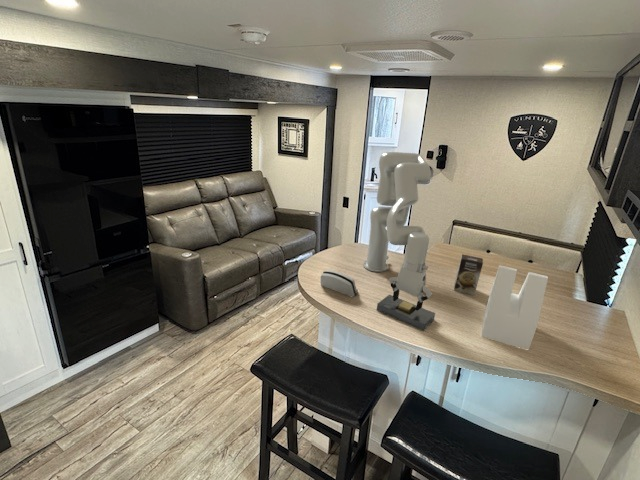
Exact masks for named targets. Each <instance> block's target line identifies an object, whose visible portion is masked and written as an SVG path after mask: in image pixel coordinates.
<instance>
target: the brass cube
mask: <svg viewBox="0 0 640 480" xmlns="http://www.w3.org/2000/svg"><path fill="white" fill-rule="evenodd" d="M405 301H406V300H404V301H403V302H402V303H401V304H400V305H399V306H398V310H400V311H402V312H404V313H407V314H409V315H411V314H412V313H413V307H414V305H415V304H414V303H412V304H410V303H411V302H409V303H407V302H408V301H407V302H405ZM413 304H414V305H413Z"/></svg>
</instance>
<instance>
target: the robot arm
mask: <svg viewBox="0 0 640 480" xmlns="http://www.w3.org/2000/svg"><path fill="white" fill-rule="evenodd" d="M378 167H379V174H380V175H379V182H378V188H377V193H376V194H377V195H376V201H377V204H379V205H380V206H375V207H374V208H372V209H371V211H370V214H369V215H370V218H369V219H370V230H369V240H368V247H367V256H366V260H364V262H363V264H362V266H363V268H364V269H366V270H368V271H370V272H375V273H383V272H384V273H385V272H386V271H388V269H389V265H388V263H387V260H388V259H389V258H390V257H389V255H388V249H389V244H391V245H393V246H406V247H405V253H404V259H403V263H402V264H401V267H400V269H399V270H398V271H399V272H398V274H397V276H392V277H389V279H388V280H389V283H390V287H391V289H392V292H393V294H392V296H393V301H396V300H397V299H398V298H400V297H399V296H400V291H402V292H405V293H407V294H410V295H411V296H415V297H417V301H416V310H417V311H418V310H419V309H421V308H423V304H424V302H425V301H426V300H428V299H429V298H430V297H431V296H432V295H433V293H432V291H430V290H429V289H428V287H427V286H426V282H427V281H426V279H427V274H426V273H427V272H426V271H427V270H428V268H429V266H427V265H426V259H427V253H428V249H429V243H430V238H429V235H428V234H426V231H425V230H424V228H423V227H422V226H419V225H405V224H406V223H407V219H408V218H409V217H408V216H409V212H410V207H411V206H413V205H415V204H417V202H418V201H419V191H418V185H426V184H429V182H430V180H431V178H432V169H431V167H430V164H429V163H428V162H427V161H426V159H425V158H424V157H423V156H422V155H421V154H419V153H414V152H399V151H397V152H395V151H386V152H383V153H382V154H381V155H380V157H379V161H378ZM395 282H396V283H395ZM424 293H425V294H426V295H424Z"/></svg>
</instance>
